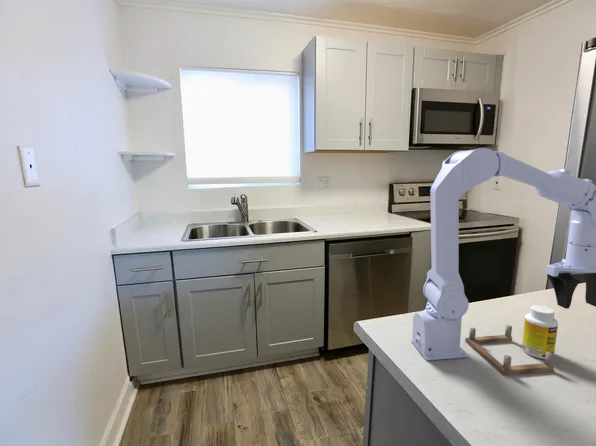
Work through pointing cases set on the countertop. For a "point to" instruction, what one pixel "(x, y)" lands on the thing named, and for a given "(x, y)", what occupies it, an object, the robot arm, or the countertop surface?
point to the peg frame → (506, 367)
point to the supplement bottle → (539, 331)
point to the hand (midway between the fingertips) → (577, 305)
